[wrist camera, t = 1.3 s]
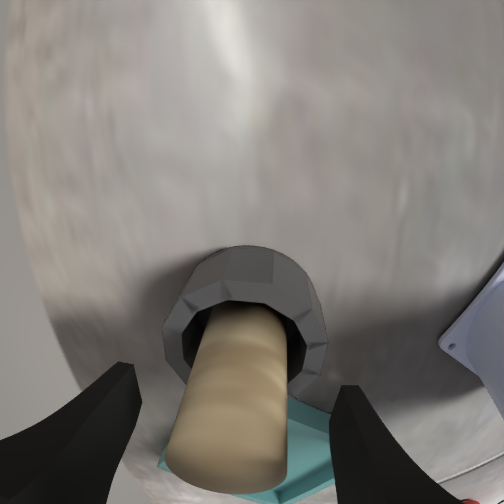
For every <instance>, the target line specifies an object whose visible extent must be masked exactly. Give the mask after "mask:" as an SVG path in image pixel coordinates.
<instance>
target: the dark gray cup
mask: <svg viewBox="0 0 504 504" xmlns="http://www.w3.org/2000/svg"><path fill="white" fill-rule="evenodd" d="M226 300H235V301H246V302H257V303H265V304H267V305H269V306H270V307H272V308H274V309H275V310H277V311H279V312H280V313H282V314H284V315H285V316H286V342H287V400H288V399H291V398H294V397H296V396H297V395H298V394H299V393H300V392H301V391H303V390H304V389H305V388H306V387H307V386H308V385H309V384H310V383H312V382H313V381H314V380H315V379H316V378H317V377H318V376H319V375H320V373H321V370H322V366H323V362H324V358H325V354H326V350H327V346H328V338H327V333H326V328H325V323H324V318H323V314H322V309H321V304H320V302H319V300H318V297H317V295H316V292H315V289H314V286H313V284H312V282H311V280H310V278H309V276H308V275H307V274H306V272H305V271H304V270H303V269H302V268H301V267H300V266H299V265H298V264H297V263H296V262H295V261H293V260H292V259H291V258H289V257H287V256H286V255H284V254H282V253H280V252H277V251H275V250H272V249H269V248H265V247H259V246H235V247H231V248H226V249H223V250H221V251H218V252H216V253H214V254H212V255H210V256H209V257H207V258H206V259H205V260H203V261H202V262H201V263H199V264H198V265H197V267H196V268H195V270H194V271H193V272H192V274H191V276H190V278H189V279H188V281H187V283H186V284H185V286H184V287H183V289H182V290H181V292H180V294H179V296H178V297H177V299H176V301H175V303H174V305H173V307H172V309H171V311H170V312H169V314H168V316H167V318H166V320H165V322H164V324H163V326H162V332H163V340H164V349H165V356H166V360H167V362H168V363H169V364H170V366H171V367H172V368H173V369H174V371H175V372H176V373H177V374H178V375H179V377H180V378H181V379H182V380H183V382H184V383H185V384H186V385H187V383H188V379H189V376H190V373H191V370H192V367H193V364H194V361H195V358H196V355H197V352H198V349H199V346H200V343H201V340H202V337H203V334H204V331H205V328H206V325H207V322H208V319H209V316H210V313H211V310H212V307H213V305H216V304H218V303H221V302H223V301H226Z"/></svg>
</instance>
